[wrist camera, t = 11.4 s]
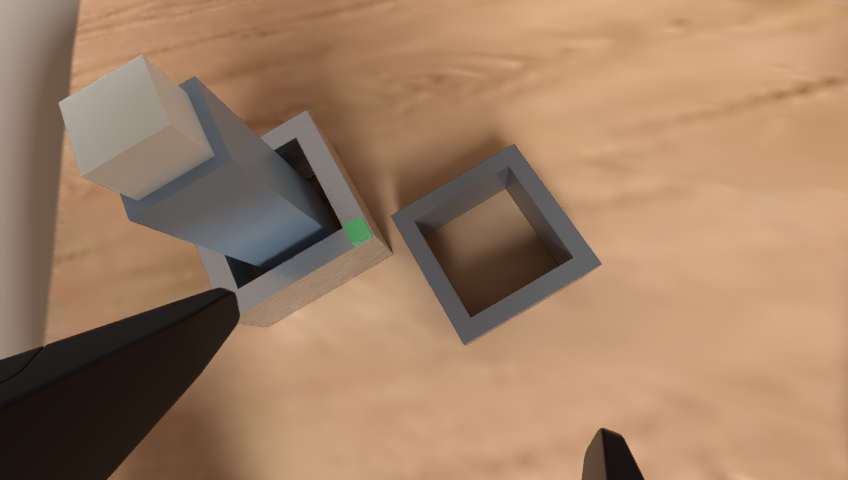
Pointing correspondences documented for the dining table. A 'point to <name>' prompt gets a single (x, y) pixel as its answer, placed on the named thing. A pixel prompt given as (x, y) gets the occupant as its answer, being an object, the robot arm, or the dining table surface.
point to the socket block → (321, 263)
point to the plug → (191, 166)
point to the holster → (538, 210)
